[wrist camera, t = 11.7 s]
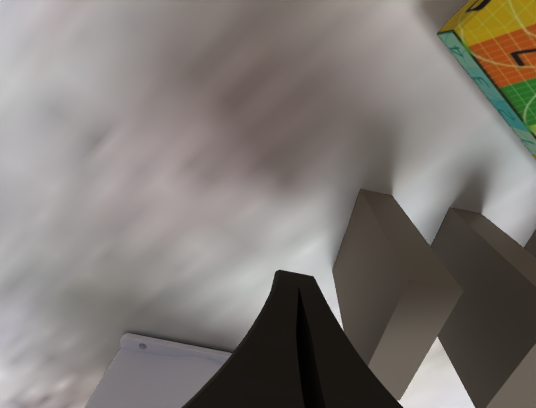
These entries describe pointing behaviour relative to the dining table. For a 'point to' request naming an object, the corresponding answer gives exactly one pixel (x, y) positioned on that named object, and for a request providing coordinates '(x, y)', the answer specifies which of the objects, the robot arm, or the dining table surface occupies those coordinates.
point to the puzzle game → (500, 57)
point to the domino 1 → (390, 290)
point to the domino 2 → (490, 311)
